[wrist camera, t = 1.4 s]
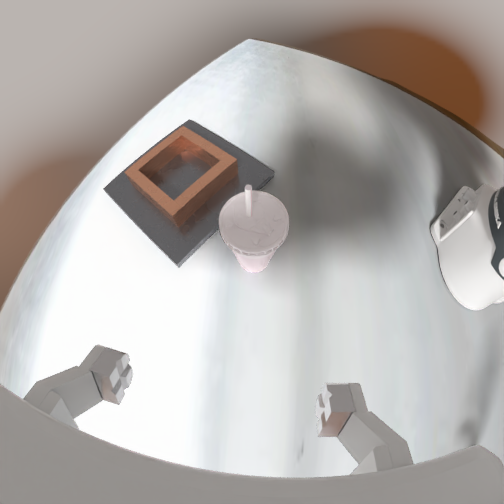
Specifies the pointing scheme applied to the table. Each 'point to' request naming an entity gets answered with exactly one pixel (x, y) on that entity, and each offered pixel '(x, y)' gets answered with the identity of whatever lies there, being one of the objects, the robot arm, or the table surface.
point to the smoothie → (254, 227)
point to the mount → (184, 188)
